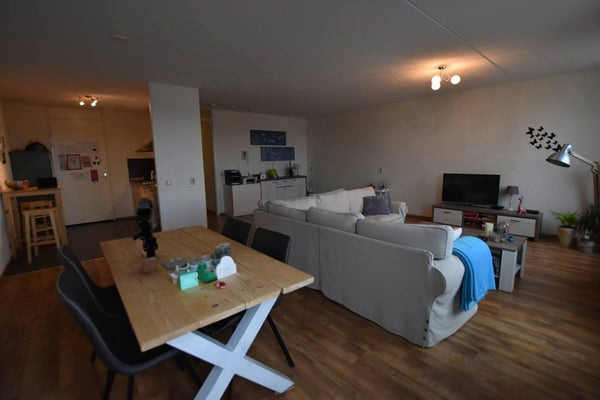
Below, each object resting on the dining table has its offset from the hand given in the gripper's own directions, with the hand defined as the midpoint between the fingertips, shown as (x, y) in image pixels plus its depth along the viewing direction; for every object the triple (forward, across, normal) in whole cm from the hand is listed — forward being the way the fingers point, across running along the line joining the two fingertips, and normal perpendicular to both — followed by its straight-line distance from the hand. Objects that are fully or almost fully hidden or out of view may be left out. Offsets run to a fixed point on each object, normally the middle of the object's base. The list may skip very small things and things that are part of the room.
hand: (148, 250), depth 176 cm
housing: (+13, 0, 0) cm, 13 cm away
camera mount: (+13, +38, +20) cm, 45 cm away
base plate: (+13, +2, +15) cm, 20 cm away
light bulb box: (+13, +18, +41) cm, 46 cm away
